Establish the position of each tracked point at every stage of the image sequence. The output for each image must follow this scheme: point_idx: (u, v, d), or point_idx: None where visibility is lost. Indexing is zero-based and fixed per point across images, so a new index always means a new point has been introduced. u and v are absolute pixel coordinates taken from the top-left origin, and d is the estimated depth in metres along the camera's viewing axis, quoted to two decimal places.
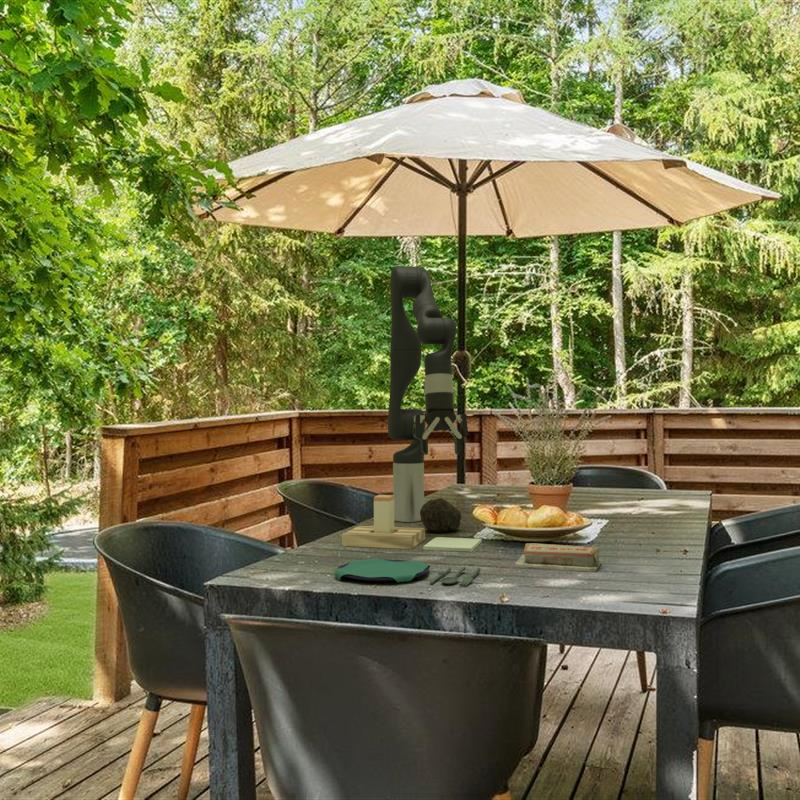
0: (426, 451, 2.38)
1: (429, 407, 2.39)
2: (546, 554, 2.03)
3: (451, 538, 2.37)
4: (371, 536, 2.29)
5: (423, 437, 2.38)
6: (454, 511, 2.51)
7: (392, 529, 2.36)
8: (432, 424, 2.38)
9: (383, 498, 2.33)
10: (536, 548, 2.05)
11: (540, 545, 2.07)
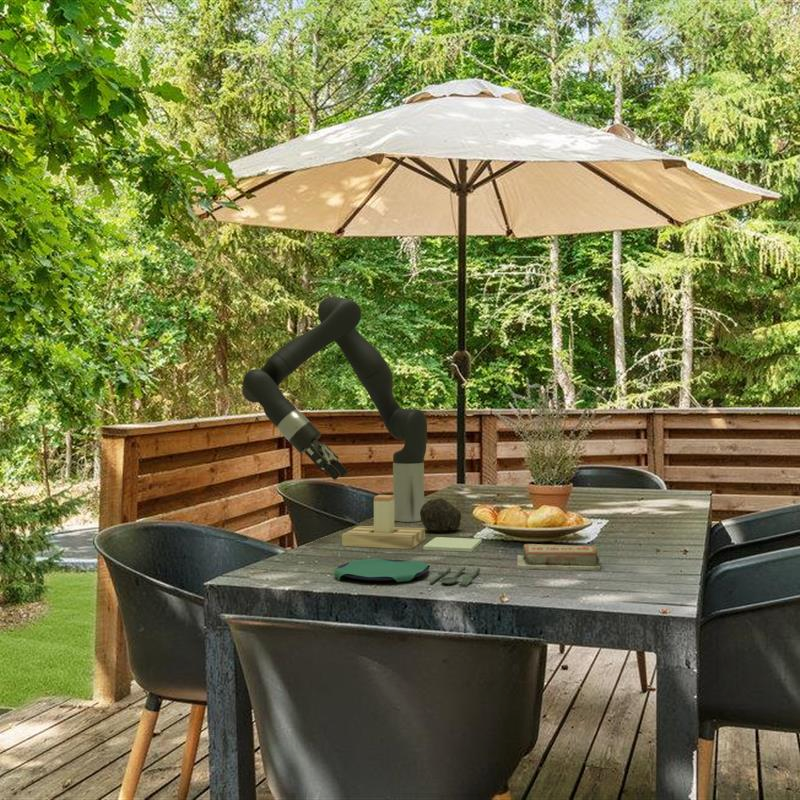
0: None
1: None
2: (549, 554, 2.02)
3: (451, 538, 2.37)
4: (371, 536, 2.29)
5: None
6: (454, 511, 2.51)
7: (392, 529, 2.36)
8: None
9: (383, 498, 2.33)
10: (538, 549, 2.04)
11: (539, 546, 2.06)
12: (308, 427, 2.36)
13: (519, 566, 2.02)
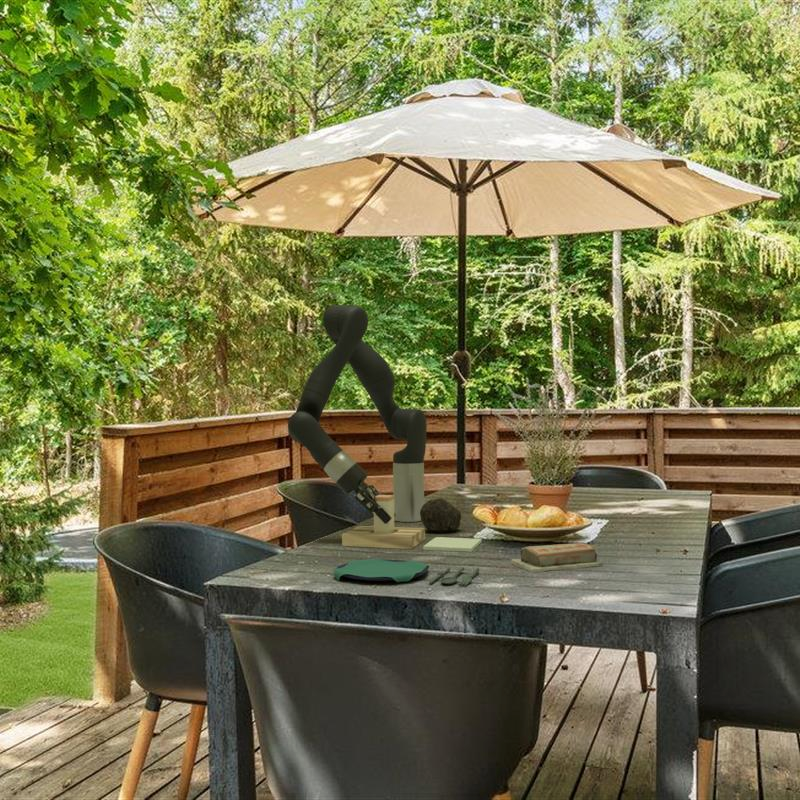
0: None
1: None
2: (558, 554, 2.02)
3: (451, 538, 2.37)
4: (371, 536, 2.29)
5: None
6: (454, 511, 2.51)
7: (392, 529, 2.36)
8: None
9: (383, 498, 2.33)
10: (544, 550, 2.02)
11: (540, 547, 2.05)
12: (355, 469, 2.35)
13: (535, 569, 1.98)
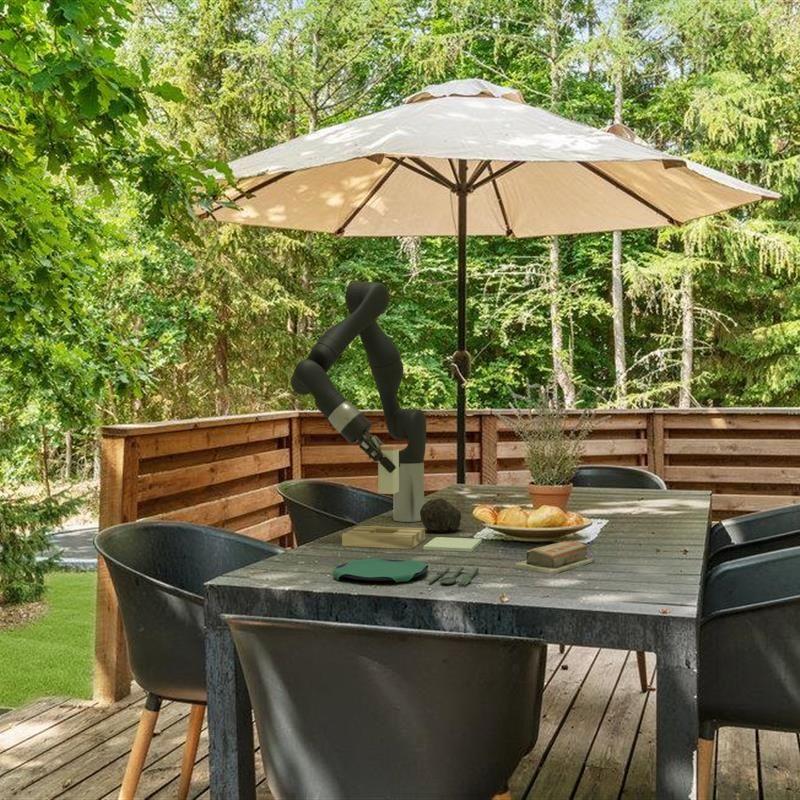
0: None
1: None
2: (565, 554, 2.02)
3: (451, 538, 2.37)
4: (371, 536, 2.29)
5: None
6: (454, 511, 2.51)
7: (396, 479, 2.35)
8: None
9: (387, 447, 2.33)
10: (553, 551, 2.01)
11: (544, 548, 2.03)
12: (359, 418, 2.34)
13: (554, 571, 1.96)
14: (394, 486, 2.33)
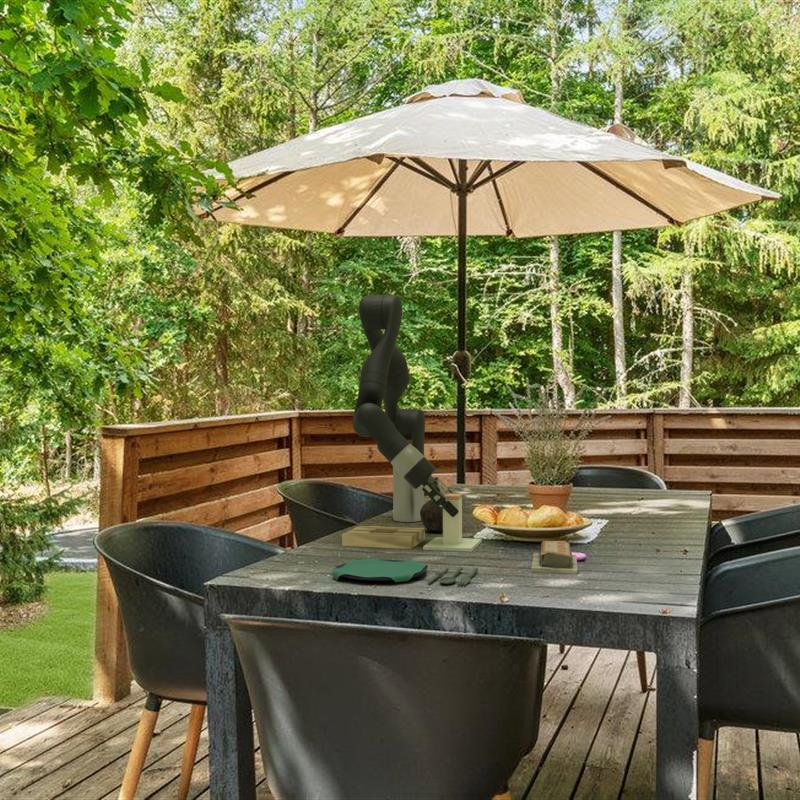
0: None
1: None
2: (571, 553, 2.03)
3: None
4: (371, 536, 2.29)
5: None
6: None
7: (460, 528, 2.31)
8: None
9: (453, 497, 2.28)
10: (563, 551, 2.01)
11: (552, 549, 2.02)
12: (423, 462, 2.30)
13: (577, 571, 1.97)
14: (459, 536, 2.29)
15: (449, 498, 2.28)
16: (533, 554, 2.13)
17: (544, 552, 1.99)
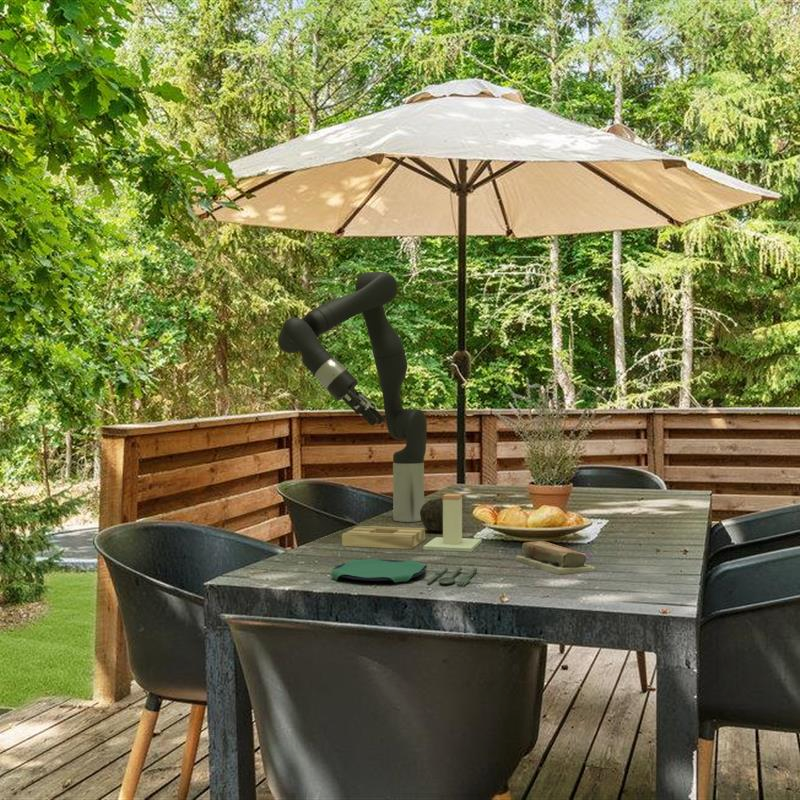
0: None
1: None
2: None
3: None
4: (371, 536, 2.29)
5: None
6: None
7: (460, 528, 2.31)
8: None
9: (453, 497, 2.28)
10: (572, 550, 2.02)
11: (562, 549, 2.02)
12: (345, 374, 2.40)
13: None
14: (459, 536, 2.29)
15: (449, 498, 2.28)
16: (518, 557, 2.10)
17: (563, 553, 1.98)
